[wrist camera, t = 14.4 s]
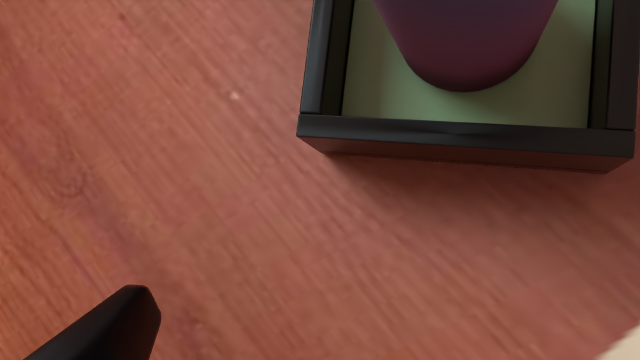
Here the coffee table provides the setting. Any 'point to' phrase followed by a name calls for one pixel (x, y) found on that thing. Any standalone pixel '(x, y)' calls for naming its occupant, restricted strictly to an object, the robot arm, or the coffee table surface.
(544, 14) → the cup
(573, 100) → the tray
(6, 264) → the coffee table surface
